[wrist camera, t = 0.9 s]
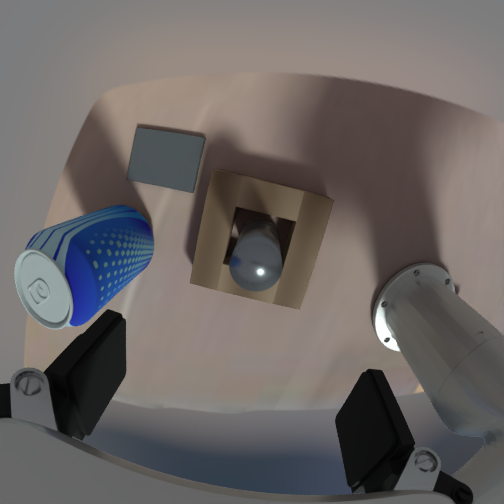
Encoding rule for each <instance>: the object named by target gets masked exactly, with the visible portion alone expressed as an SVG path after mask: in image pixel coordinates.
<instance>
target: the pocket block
mask: <svg viewBox="0 0 504 504" xmlns="http://www.w3.org/2000/svg"><path fill="white" fill-rule="evenodd" d="M333 201H334V200H333V199H331V198H329V197H326V196H323V195H320V194H316V193H312V192H309V191H305V190H302V189H298V188H294V187H290V186H287V185H283V184H279V183H275V182H271V181H267V180H263V179H259V178H255V177H250V176H246V175H242V174H238V173H233V172H229V171H224V170H219V169H212V172H211V177H210V181H209V186H208V190H207V195H206V200H205V205H204V209H203V214H202V219H201V224H200V229H199V235H198V240H197V245H196V251H195V256H194V262H193V267H192V273H191V279H190V283H191V284H195V285H199V286H203V287H206V288H210V289H214V290H218V291H222V292H226V293H230V294H234V295H238V296H243V297H247V298H251V299H255V300H259V301H264V302H268V303H272V304H277V305H281V306H286V307H290V308H295V309H299V310H300V307H301V304H302V301H303V298H304V295H305V292H306V290H307V287H308V284H309V280H310V277H311V274H312V271H313V268H314V265H315V262H316V259H317V256H318V252H319V249H320V246H321V243H322V239H323V236H324V233H325V229H326V226H327V222H328V219H329V216H330V212H331V209H332V205H333ZM238 207H240V208H244V209H249V210H253V211H257V212H261V213H265V214H269V215H273V216H277V217H281V218H285V219H288V220H292V224H291V228H290V231H289V235H288V239H287V242H286V246H285V249H284V253H283V257H282V274H281V276H280V278H279V280H278V281H277V283H276V284H275V285H273V286H272V287H271V288H269V289H267V290H264V291H257V292H255V291H249V290H246V289H243V288H242V287H240V286H239V285H238V284H237V283H236V282H235V281H234V280H233V278H232V276H231V274H230V270H229V263H230V258H231V256H228V255H227V252H228V247H229V243H230V238H231V234H232V229H233V225H234V221H235V216H236V212H237V208H238Z"/></svg>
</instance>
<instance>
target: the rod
mask: <svg viewBox="0 0 504 504" xmlns="http://www.w3.org/2000/svg"><path fill="white" fill-rule="evenodd" d="M229 270H230V274H231V276H232V278H233V280H234V281H235V282H236V283H237V284H238V285H239V286H240V287H242V288H243V289H246V290H249V291H255V292H257V291H264V290H267V289H269V288H271V287H272V286H273V285H275V284H276V283H277V281H278V280H279V278H280V276H281V274H282V258H281V251H280V244H279V238H278V232H277V229H276V227H275V225H274V224H273V223H272V222H271V221H269V220H267V219H264V218H254V219H252V220H250V221H248V222H247V223H246V224H245V225H244V227H243V229H242V231H241V234H240V236H239V238H238V241H237V243H236V246H235V248H234V251H233V253H232V256H231V258H230V263H229Z"/></svg>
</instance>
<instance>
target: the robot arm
mask: <svg viewBox="0 0 504 504" xmlns="http://www.w3.org/2000/svg"><path fill="white" fill-rule="evenodd" d="M372 320H373V328H374V331H375V333H376V335H377V337H378V339H379V340H380V342H381V343H382V344H383V345H384V346H386V347H387V348H389V349H392V350H394V351H401V353H402V354H403V356H404V358H405V359H406V361H407V362H408V364H409V366H410V367H411V369H412V371H413V372H414V374H415V376H416V377H417V379H418V381H419V382H420V384H421V386H422V388H423V389H424V391H425V393H426V395H427V396H428V398H429V400H430V402H431V403H432V405H433V407H434V409H435V410H436V412H437V414H438V415H439V417H440V419H441V421H442V422H443V424H444V425H445V426H446V427H447V428H448V429H449V430H450V431H452V432H454V433H456V434H459V435H464V436H480V437H483V438H484V439H485V443H484V446H483V447H482V448H481V449H480V450H479V451H478V452H477V453H476V454H475V456H473V458H472V459H471V460H470V461H468V462H467V463H466V464H465V465H464V466H463V467H461V468H460V469H459V470H458V471H457V472H455V473H454V474H453V475H452V476H449V475H447V474H445V473H444V472H442V471H440V468H441V462H440V458H439V457H438V455H437V454H436V453H435V452H434V451H432V450H431V449H428V448H423V447H420V448H417V449H414V445H415V441H414V439H413V437H412V434H411V432H410V430H409V427H408V425H407V423H406V421H405V418H404V416H403V414H402V411H401V410H400V407H399V405H398V403H397V400H396V399H395V396H394V394H393V392H392V390H391V388H390V386H389V383H388V381H387V379H386V377H385V375H384V373H383V371H382V370H376V369H368V370H366V372H363V373H362V374H361V376H360V377H359V379H358V381H357V383H356V384H355V386H354V388H353V390H352V391H351V393H350V395H349V396H348V398H347V400H346V401H345V403H344V404H343V406H342V408H341V409H340V411H339V412H338V414H337V416H336V419H335V423H336V428H337V433H338V438H339V443H340V448H341V453H342V458H343V463H344V468H345V473H346V478H347V484H348V486H349V487H351V489H352V493H363V492H365V493H363V494H348V495H286V494H285V495H284V494H271V493H261V492H252V491H245V490H237V489H231V488H224V487H219V486H214V485H209V484H204V483H200V482H195V481H191V480H187V479H183V478H179V477H175V476H172V475H168V474H165V473H161V472H158V471H154V470H151V469H148V468H145V467H142V466H140V465H137V464H134V463H131V462H128V461H126V460H123V459H120V458H118V457H115V456H113V455H110V454H108V453H105V452H103V451H100V450H98V449H96V448H93V447H91V446H89V445H87V444H85V443H83V442H80V441H78V440H76V439H74V438H72V436H74V437H76V438H78V439H80V440H83V438H84V437H85V435H88V436H89V435H90V434H91V433H92V431H93V429H94V427H95V426H96V424H97V422H98V421H99V419H100V417H101V415H102V414H103V412H104V410H105V409H106V407H107V405H108V404H109V402H110V400H111V399H112V397H113V395H114V394H115V392H116V390H117V389H118V387H119V386H120V384H121V382H122V381H123V379H124V377H125V374H126V320H125V319H124V318H122V314H121V313H118V312H115V311H112V310H109V309H107V310H106V311H105V312H104V313H103V314H102V315H101V316H100V317H99V318H98V319H97V320H96V321H95V322H94V323H93V324H92V325H91V326H90V327H89V328H88V329H87V330H86V331H85V332H84V333H83V334H80V335H79V336H77V337H76V338H75V339H74V341H73V342H72V343H71V344H70V345H69V346H68V347H67V348H66V349H65V350H64V351H63V352H62V353H61V354H60V355H59V356H58V357H57V358H56V359H55V360H54V361H53V363H52V364H51V365H50V366H49V367H48V368H47V369H46V370H45V371H44V372H41V371H40V370H38V369H35V368H23V369H20V370H18V371H17V372H16V373H15V374H13V376H12V378H11V382H10V383H7V384H0V504H504V335H503V334H502V333H500V332H499V331H498V330H497V329H496V328H495V327H494V326H493V325H492V324H490V323H489V322H488V321H487V320H486V319H485V318H484V317H482V316H481V315H480V314H479V313H478V312H477V311H476V310H474V309H473V308H472V307H471V306H470V305H468V304H467V303H466V302H465V301H464V300H462V299H461V298H460V297H459V296H457V295H456V294H455V287H454V283H453V281H452V278H451V277H450V275H449V274H448V273H447V272H446V271H445V270H444V269H443V268H441V267H439V266H438V265H435V264H432V263H417V264H413V265H411V266H408V267H406V268H404V269H403V270H401V271H399V272H398V273H397V274H396V275H394V276H393V277H392V278H391V279H390V280H389V281H388V283H387V284H386V285H385V286H384V288H383V289H382V291H381V292H380V294H379V296H378V298H377V300H376V303H375V306H374V310H373V318H372Z"/></svg>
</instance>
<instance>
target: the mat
mask: <svg viewBox="0 0 504 504" xmlns="http://www.w3.org/2000/svg"><path fill="white" fill-rule="evenodd" d="M205 140H206V138H203V137H197V136H191V135H185V134H179V133H173V132H166V131H159V130H151V129H143V128H137V131H136V135H135V140H134V144H133V149H132V154H131V159H130V165H129V170H128V176H127V180H131V181H137V182H142V183H147V184H152V185H157V186H162V187H167V188H171V189H176V190H181V191H186V192H190V193H194V189H195V184H196V179H197V175H198V170H199V165H200V161H201V157H202V152H203V148H204V144H205Z"/></svg>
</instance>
